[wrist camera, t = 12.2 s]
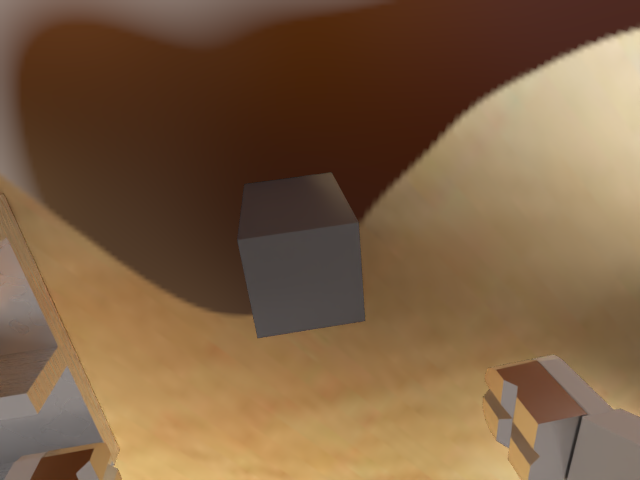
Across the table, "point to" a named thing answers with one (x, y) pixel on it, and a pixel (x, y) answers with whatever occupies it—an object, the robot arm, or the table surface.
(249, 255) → the dark gray block
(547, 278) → the table surface
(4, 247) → the gray divided tray
